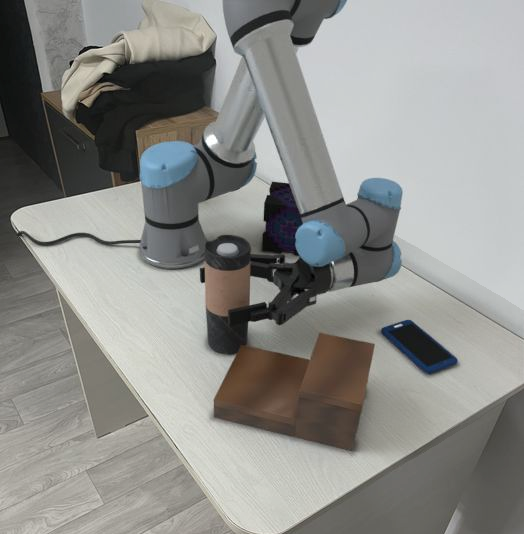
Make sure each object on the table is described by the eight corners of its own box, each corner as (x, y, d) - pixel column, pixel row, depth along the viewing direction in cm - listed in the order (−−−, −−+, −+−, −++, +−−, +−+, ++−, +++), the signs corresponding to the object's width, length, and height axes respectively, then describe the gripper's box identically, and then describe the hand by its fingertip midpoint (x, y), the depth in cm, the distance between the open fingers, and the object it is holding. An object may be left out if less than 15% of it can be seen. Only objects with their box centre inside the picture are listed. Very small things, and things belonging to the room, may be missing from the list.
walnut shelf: (213, 417, 85) (212, 370, 79) (240, 361, 95) (241, 316, 89) (352, 451, 81) (363, 404, 74) (364, 389, 91) (375, 343, 85)
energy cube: (261, 251, 126) (264, 202, 118) (269, 227, 135) (272, 181, 127) (313, 257, 125) (318, 208, 117) (317, 233, 134) (322, 186, 126)
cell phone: (408, 321, 107) (409, 318, 106) (458, 363, 97) (459, 360, 97) (379, 330, 104) (379, 327, 103) (427, 375, 95) (428, 372, 94)
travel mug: (247, 356, 97) (250, 258, 84) (204, 354, 96) (201, 256, 84) (248, 330, 102) (252, 235, 90) (208, 328, 102) (206, 233, 89)
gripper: (356, 327, 93) (242, 357, 85) (290, 257, 110) (191, 277, 103) (363, 291, 88) (243, 319, 81) (293, 224, 105) (189, 242, 98)
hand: (213, 295), depth 92 cm, fingers open, 13 cm apart
